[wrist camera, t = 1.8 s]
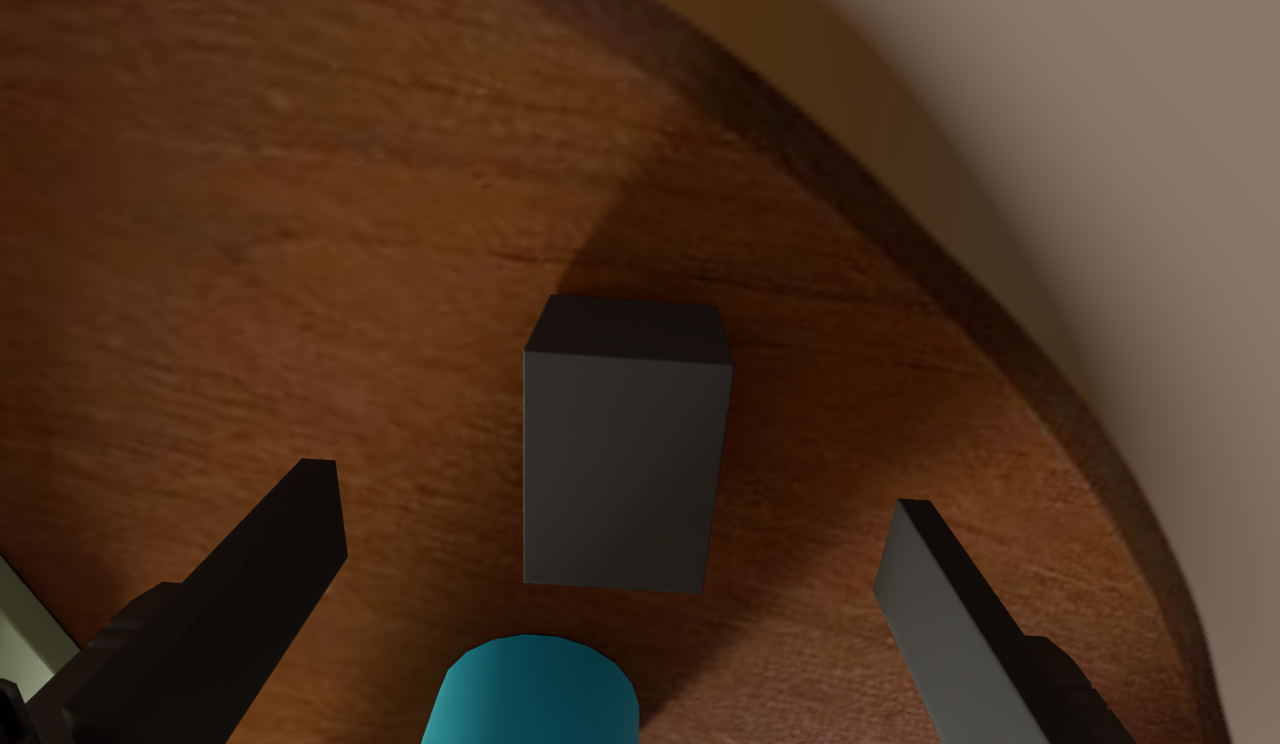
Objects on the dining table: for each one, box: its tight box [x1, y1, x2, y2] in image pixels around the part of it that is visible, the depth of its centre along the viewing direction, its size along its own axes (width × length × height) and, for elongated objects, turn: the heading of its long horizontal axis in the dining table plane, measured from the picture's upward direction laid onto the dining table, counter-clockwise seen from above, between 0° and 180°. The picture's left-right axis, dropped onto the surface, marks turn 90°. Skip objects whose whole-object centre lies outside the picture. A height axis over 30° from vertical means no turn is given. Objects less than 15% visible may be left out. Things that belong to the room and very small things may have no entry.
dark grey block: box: [523, 295, 735, 594], centre depth 19 cm, size 7×5×4 cm
